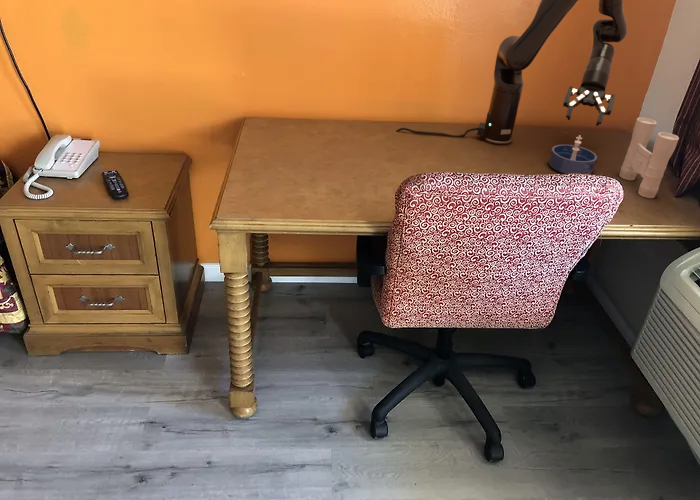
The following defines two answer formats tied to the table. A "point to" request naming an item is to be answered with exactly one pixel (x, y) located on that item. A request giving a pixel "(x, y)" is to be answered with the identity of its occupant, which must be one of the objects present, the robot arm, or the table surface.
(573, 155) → the chess piece
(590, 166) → the bowl
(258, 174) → the table surface
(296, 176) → the table surface
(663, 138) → the binoculars
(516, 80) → the robot arm
